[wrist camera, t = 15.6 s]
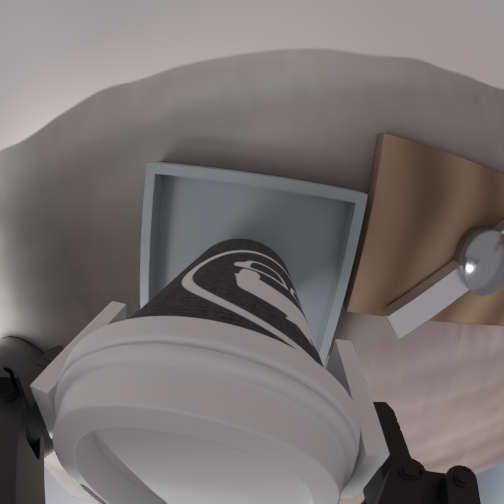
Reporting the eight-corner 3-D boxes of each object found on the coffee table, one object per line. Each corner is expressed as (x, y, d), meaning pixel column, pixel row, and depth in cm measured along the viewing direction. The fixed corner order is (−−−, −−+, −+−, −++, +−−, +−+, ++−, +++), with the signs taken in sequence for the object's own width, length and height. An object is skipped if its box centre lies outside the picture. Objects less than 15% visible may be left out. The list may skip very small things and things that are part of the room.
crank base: (343, 302, 24) (346, 311, 23) (377, 134, 20) (384, 133, 19) (507, 319, 24) (514, 326, 22) (542, 194, 20) (552, 197, 18)
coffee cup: (165, 212, 19) (-22, 331, 5) (320, 216, 19) (432, 376, 5) (175, 343, 22) (91, 521, 8) (308, 350, 22) (331, 552, 7)
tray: (151, 333, 26) (141, 349, 24) (159, 161, 22) (146, 162, 19) (316, 360, 26) (320, 378, 23) (357, 190, 22) (367, 194, 19)
